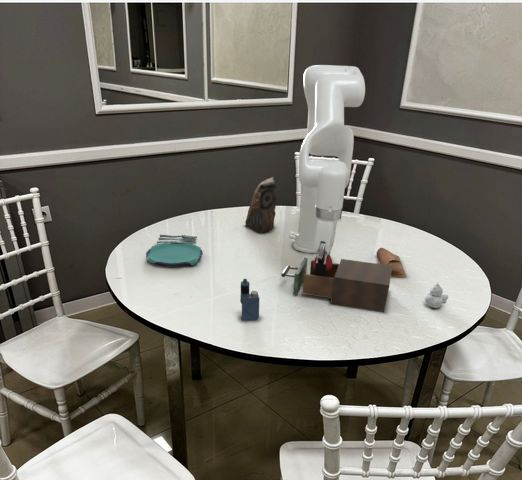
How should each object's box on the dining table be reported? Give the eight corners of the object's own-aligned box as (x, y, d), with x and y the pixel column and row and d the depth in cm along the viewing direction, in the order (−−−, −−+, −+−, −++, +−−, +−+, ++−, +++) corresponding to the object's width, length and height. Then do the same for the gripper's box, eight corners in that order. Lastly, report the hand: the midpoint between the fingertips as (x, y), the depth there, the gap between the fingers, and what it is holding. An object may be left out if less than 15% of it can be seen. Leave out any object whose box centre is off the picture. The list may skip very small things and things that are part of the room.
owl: (272, 223, 203) (274, 175, 192) (283, 232, 193) (286, 182, 182) (244, 225, 199) (245, 176, 188) (254, 235, 189) (255, 184, 178)
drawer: (277, 292, 145) (278, 271, 141) (288, 274, 156) (289, 255, 152) (340, 301, 140) (343, 280, 137) (346, 283, 151) (349, 263, 148)
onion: (316, 269, 149) (318, 245, 144) (333, 273, 147) (336, 249, 142) (309, 276, 144) (312, 251, 140) (327, 280, 142) (330, 255, 138)
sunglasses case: (407, 276, 159) (400, 259, 156) (387, 284, 161) (380, 268, 158) (398, 256, 174) (392, 240, 171) (380, 264, 176) (373, 249, 173)
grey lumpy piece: (421, 301, 144) (427, 277, 140) (442, 302, 144) (449, 278, 140) (426, 310, 140) (432, 285, 135) (448, 311, 140) (455, 286, 135)
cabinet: (330, 304, 141) (334, 277, 136) (338, 284, 153) (341, 258, 148) (384, 312, 138) (389, 285, 133) (387, 291, 150) (392, 265, 145)
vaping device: (240, 316, 133) (240, 277, 126) (258, 316, 133) (259, 277, 127) (240, 321, 131) (240, 281, 124) (259, 320, 131) (260, 281, 125)
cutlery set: (141, 268, 159) (141, 262, 157) (155, 237, 184) (154, 232, 182) (201, 269, 160) (200, 263, 158) (206, 238, 185) (206, 233, 183)
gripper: (320, 203, 142) (315, 259, 152) (309, 220, 129) (304, 280, 139) (345, 206, 141) (338, 262, 151) (336, 224, 127) (329, 284, 137)
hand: (322, 270), depth 145 cm, fingers closed on onion, 5 cm apart
